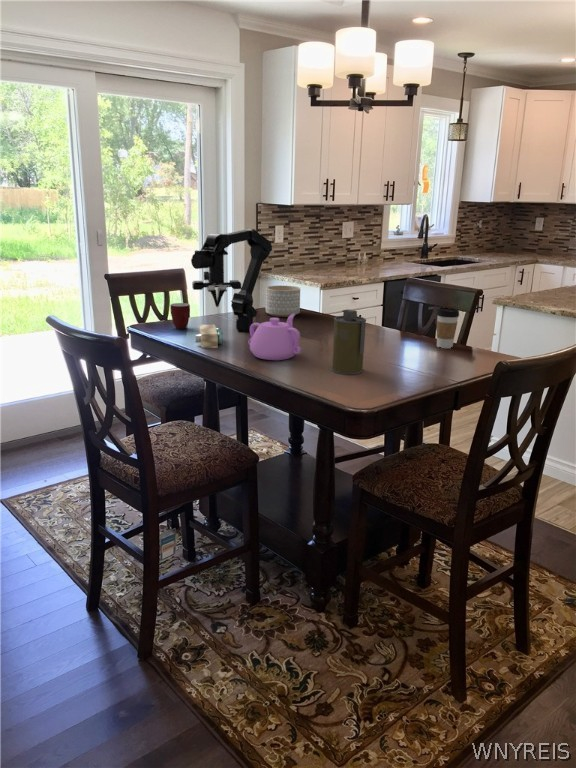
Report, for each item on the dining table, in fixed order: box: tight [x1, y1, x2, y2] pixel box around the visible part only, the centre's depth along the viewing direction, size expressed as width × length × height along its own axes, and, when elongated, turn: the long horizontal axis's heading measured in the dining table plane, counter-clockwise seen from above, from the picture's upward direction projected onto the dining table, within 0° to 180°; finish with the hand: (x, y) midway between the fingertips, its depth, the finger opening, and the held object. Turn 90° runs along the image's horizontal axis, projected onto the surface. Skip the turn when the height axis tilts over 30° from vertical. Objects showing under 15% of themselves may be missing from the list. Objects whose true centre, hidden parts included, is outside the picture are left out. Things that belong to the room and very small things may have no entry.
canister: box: [331, 308, 367, 376], centre depth 197 cm, size 11×10×20 cm
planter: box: [265, 285, 301, 318], centre depth 288 cm, size 16×16×13 cm
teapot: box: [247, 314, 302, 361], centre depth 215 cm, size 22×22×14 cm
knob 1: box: [194, 332, 223, 345], centre depth 228 cm, size 10×4×4 cm, turn 100°
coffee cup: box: [436, 306, 460, 349], centre depth 232 cm, size 8×8×15 cm
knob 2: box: [216, 327, 222, 333], centre depth 235 cm, size 8×4×4 cm, turn 100°
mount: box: [198, 324, 219, 349], centre depth 231 cm, size 6×17×5 cm, turn 10°
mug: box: [169, 302, 191, 330], centre depth 253 cm, size 10×8×10 cm
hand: (217, 306), depth 239 cm, fingers closed
